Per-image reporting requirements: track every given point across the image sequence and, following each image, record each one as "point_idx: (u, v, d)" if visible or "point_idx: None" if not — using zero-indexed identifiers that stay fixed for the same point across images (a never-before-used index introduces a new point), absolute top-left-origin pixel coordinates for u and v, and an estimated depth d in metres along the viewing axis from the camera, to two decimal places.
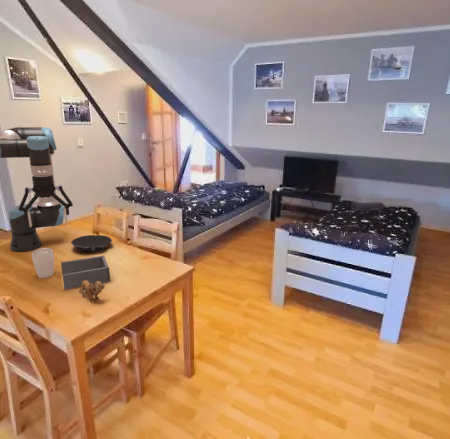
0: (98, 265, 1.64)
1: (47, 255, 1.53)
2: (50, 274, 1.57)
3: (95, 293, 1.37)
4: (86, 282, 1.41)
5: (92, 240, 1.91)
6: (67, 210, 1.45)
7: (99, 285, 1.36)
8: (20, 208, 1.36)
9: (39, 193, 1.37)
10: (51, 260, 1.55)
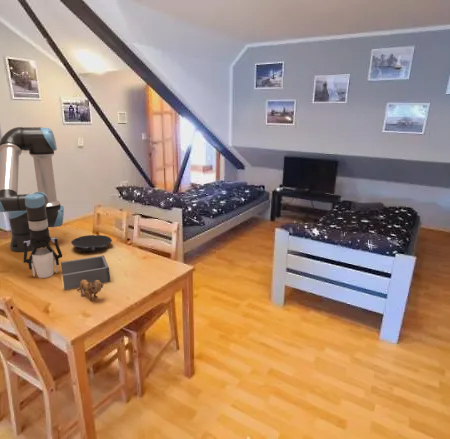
0: (98, 265, 1.64)
1: (47, 255, 1.53)
2: (50, 274, 1.57)
3: (94, 292, 1.37)
4: (85, 281, 1.41)
5: (92, 240, 1.91)
6: (57, 261, 1.58)
7: (98, 284, 1.37)
8: (24, 260, 1.51)
9: (36, 245, 1.51)
10: (51, 260, 1.55)
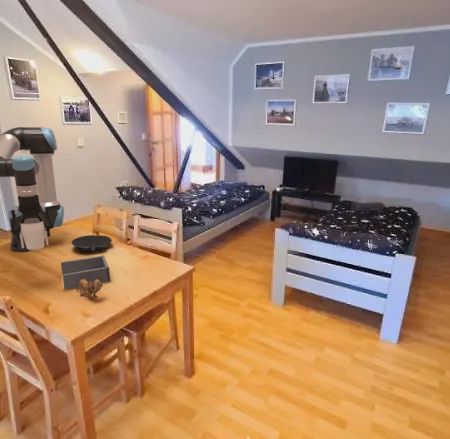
0: (98, 265, 1.64)
1: (37, 225, 1.40)
2: (40, 246, 1.44)
3: (94, 291, 1.38)
4: (84, 281, 1.42)
5: (92, 240, 1.91)
6: (48, 232, 1.46)
7: (98, 284, 1.37)
8: (12, 230, 1.39)
9: (25, 213, 1.38)
10: (41, 230, 1.42)
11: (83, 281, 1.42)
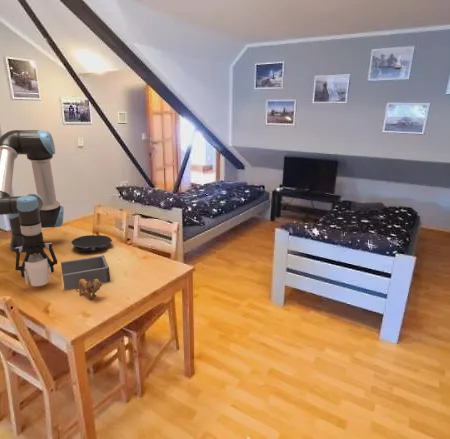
0: (98, 265, 1.64)
1: (41, 262, 1.42)
2: (44, 282, 1.46)
3: (93, 291, 1.38)
4: (83, 280, 1.42)
5: (92, 240, 1.91)
6: (52, 268, 1.48)
7: (97, 283, 1.38)
8: (16, 268, 1.41)
9: (29, 251, 1.40)
10: (45, 267, 1.44)
11: (82, 281, 1.42)
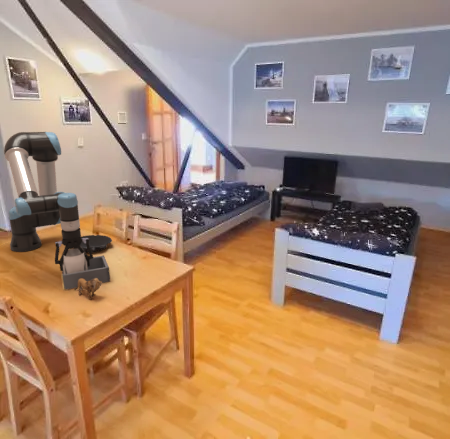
0: (98, 265, 1.64)
1: (79, 256, 1.49)
2: None
3: (93, 290, 1.39)
4: (82, 280, 1.42)
5: (92, 240, 1.91)
6: (88, 262, 1.54)
7: (97, 282, 1.38)
8: (56, 262, 1.47)
9: (68, 245, 1.47)
10: (82, 261, 1.51)
11: (81, 280, 1.42)
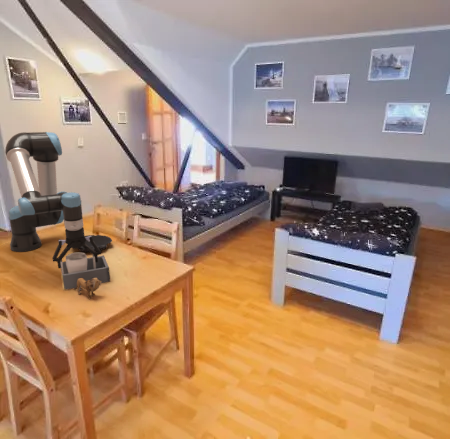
0: (98, 265, 1.64)
1: (82, 260, 1.50)
2: None
3: (92, 289, 1.39)
4: (82, 279, 1.43)
5: None
6: (96, 258, 1.56)
7: (96, 282, 1.39)
8: (54, 259, 1.46)
9: (71, 245, 1.47)
10: (85, 265, 1.52)
11: (81, 280, 1.42)
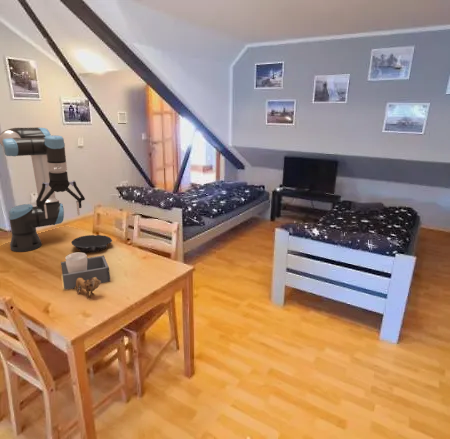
0: (98, 265, 1.64)
1: (82, 260, 1.50)
2: None
3: (92, 289, 1.40)
4: (81, 279, 1.43)
5: (92, 240, 1.91)
6: (80, 203, 1.58)
7: (96, 281, 1.39)
8: (37, 201, 1.49)
9: (55, 188, 1.50)
10: (85, 265, 1.52)
11: (80, 279, 1.43)
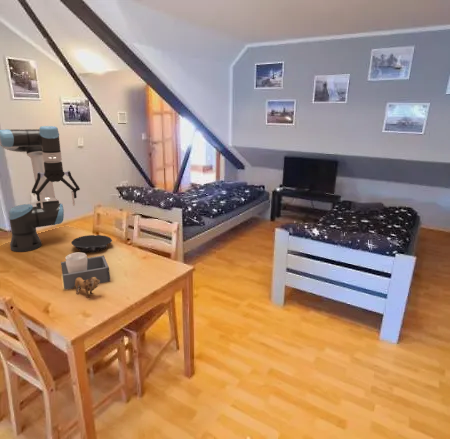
0: (98, 265, 1.64)
1: (82, 260, 1.50)
2: None
3: (91, 289, 1.40)
4: (80, 279, 1.43)
5: (92, 240, 1.91)
6: (75, 194, 1.61)
7: (95, 281, 1.40)
8: (33, 191, 1.52)
9: (50, 177, 1.53)
10: (85, 265, 1.52)
11: (79, 279, 1.43)
